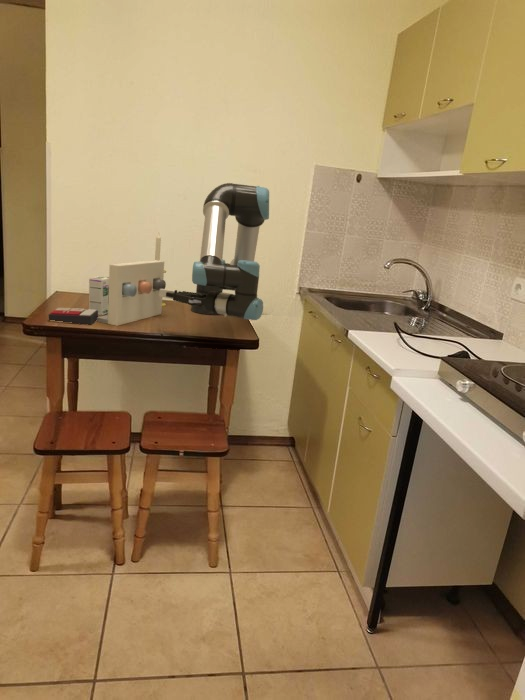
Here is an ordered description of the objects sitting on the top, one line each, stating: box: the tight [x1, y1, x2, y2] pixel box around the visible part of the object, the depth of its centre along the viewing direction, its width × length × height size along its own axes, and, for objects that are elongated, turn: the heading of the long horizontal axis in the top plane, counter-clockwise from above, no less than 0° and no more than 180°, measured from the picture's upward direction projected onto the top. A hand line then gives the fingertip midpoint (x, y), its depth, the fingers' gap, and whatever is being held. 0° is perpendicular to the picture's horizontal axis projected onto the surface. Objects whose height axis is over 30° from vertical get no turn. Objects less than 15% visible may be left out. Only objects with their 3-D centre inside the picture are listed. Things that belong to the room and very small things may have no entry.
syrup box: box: [88, 275, 109, 317], centre depth 203 cm, size 6×6×14 cm
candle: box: [154, 232, 167, 307], centre depth 230 cm, size 10×10×32 cm
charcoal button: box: [153, 279, 167, 290], centre depth 208 cm, size 4×4×4 cm
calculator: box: [48, 307, 99, 326], centre depth 190 cm, size 11×4×15 cm
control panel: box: [96, 259, 165, 327], centre depth 201 cm, size 30×9×22 cm, turn 158°
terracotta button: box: [138, 281, 152, 294], centre depth 199 cm, size 4×4×4 cm
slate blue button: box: [122, 283, 137, 297], centre depth 190 cm, size 4×4×4 cm
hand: (160, 292), depth 185 cm, fingers closed
